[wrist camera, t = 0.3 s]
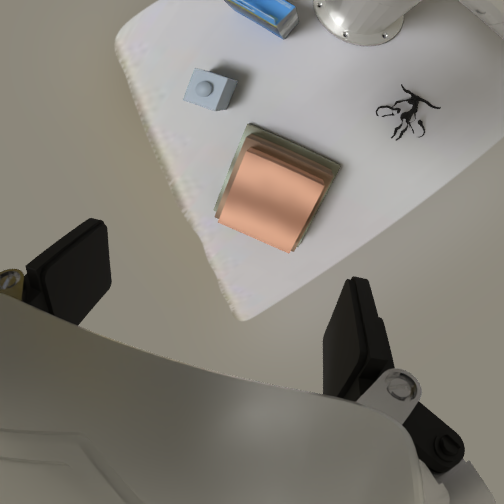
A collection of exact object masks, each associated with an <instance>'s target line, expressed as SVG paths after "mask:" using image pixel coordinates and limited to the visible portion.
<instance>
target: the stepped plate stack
mask: <svg viewBox="0 0 504 504" xmlns="http://www.w3.org/2000/svg"><path fill="white" fill-rule="evenodd" d="M340 167H341V166H340V165H339V164H337V163H335V162H333V161H331V160H329V159H327V158H325V157H323V156H321V155H319V154H317V153H315V152H313V151H311V150H308V149H306V148H304V147H302V146H300V145H298V144H295V143H293V142H291V141H289V140H286V139H284V138H282V137H280V136H277V135H275V134H273V133H270V132H268V131H266V130H263V129H261V128H258V127H256V126H253V125H251V124H247V126H246V129H245V131H244V133H243V136H242V138H241V141H240V143H239V146H238V148H237V151H236V153H235V156H234V158H233V161H232V163H231V166H230V168H229V171H228V173H227V176H226V179H225V181H224V184H223V186H222V189H221V192H220V194H219V197H218V200H217V202H216V205H215V208H214V211H216V214H215V218H218V219H219V221H218V223H221V224H223V225H225V226H228V227H230V228H232V229H235V230H237V231H239V232H241V233H244V234H246V235H248V236H251V237H253V238H255V239H257V240H260V241H262V242H264V243H266V244H269V245H271V246H273V247H276V248H278V249H280V250H282V251H285V252H287V253H290V251H293V252H294V250H295V249H296V247H298V246H299V245H300V243H301V241H302V239H303V237H304V235H305V233H306V232H307V230H308V228H309V226H310V224H311V222H312V220H313V219H314V217H315V215H316V213H317V211H318V209H319V207H320V205H321V203H322V202H323V200H324V198H325V196H326V194H327V192H328V190H329V188H330V186H331V184H332V182H333V180H334V179H335V177H336V175H337V173H338V171H339V169H340Z"/></svg>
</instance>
